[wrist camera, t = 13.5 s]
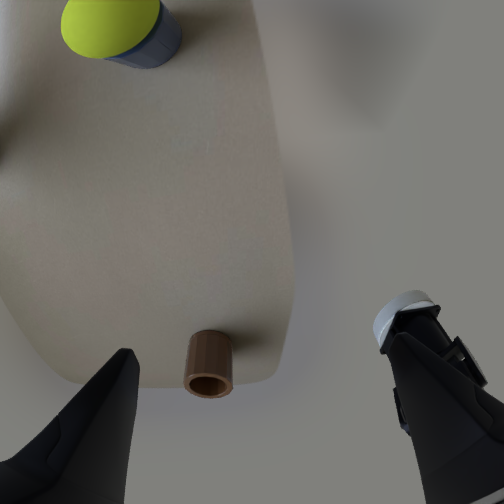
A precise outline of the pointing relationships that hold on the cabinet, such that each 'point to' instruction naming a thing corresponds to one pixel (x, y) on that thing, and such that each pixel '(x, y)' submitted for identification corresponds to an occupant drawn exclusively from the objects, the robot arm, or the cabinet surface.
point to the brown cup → (209, 365)
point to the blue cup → (154, 43)
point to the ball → (107, 25)
